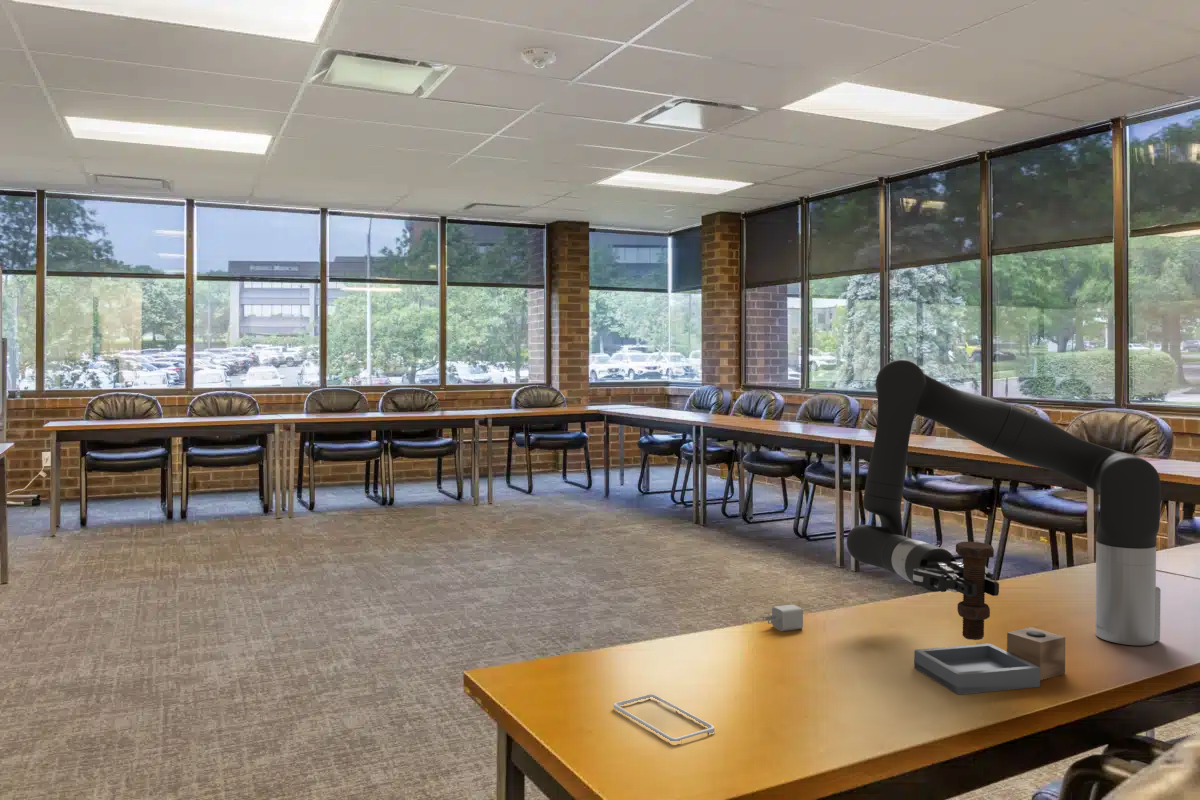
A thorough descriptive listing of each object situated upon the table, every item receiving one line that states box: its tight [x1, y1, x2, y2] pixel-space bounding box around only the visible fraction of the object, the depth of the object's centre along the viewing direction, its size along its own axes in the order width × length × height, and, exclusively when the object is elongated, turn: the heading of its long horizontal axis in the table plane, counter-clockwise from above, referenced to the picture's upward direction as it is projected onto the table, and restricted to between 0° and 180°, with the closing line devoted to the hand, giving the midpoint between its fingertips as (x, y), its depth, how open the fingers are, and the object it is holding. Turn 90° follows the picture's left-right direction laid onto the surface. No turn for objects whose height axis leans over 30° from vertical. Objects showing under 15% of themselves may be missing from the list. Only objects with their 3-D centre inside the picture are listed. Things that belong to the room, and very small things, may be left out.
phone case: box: [613, 693, 715, 741], centre depth 122 cm, size 7×1×15 cm
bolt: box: [955, 541, 995, 641], centre depth 137 cm, size 6×5×15 cm
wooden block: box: [1006, 626, 1066, 681], centre depth 139 cm, size 6×6×6 cm
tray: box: [913, 642, 1041, 696], centre depth 137 cm, size 14×12×3 cm
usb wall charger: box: [762, 604, 804, 632], centre depth 164 cm, size 4×7×4 cm, turn 109°
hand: (985, 590), depth 134 cm, fingers closed on bolt, 3 cm apart
